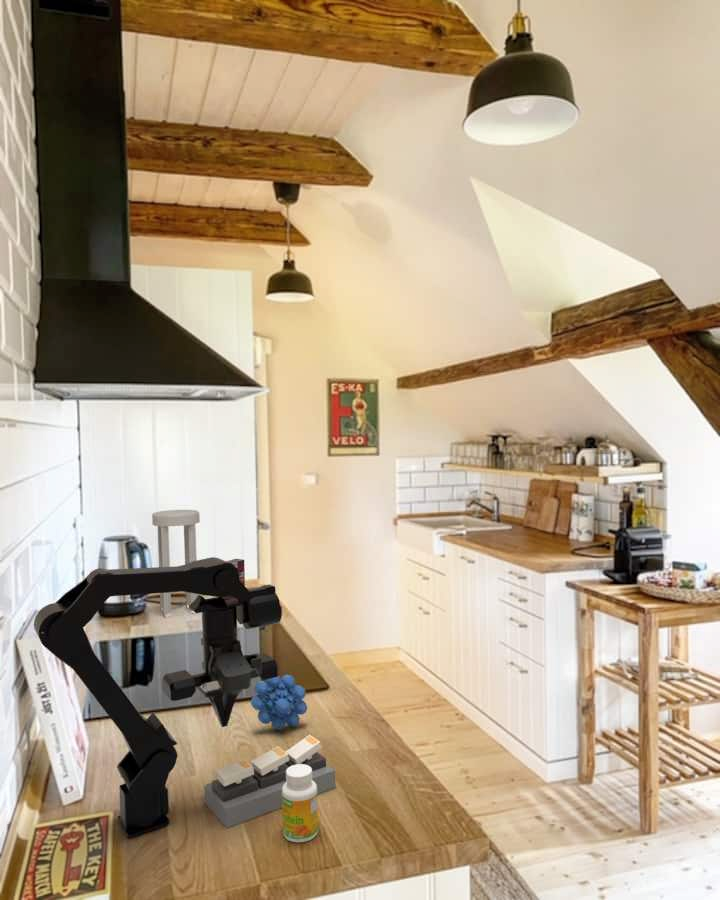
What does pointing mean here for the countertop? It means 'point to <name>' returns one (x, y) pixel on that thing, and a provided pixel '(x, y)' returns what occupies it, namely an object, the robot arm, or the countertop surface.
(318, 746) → the far rocker
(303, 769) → the supplement bottle
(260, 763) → the middle rocker
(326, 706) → the countertop surface
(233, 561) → the supplement box
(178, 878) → the countertop surface
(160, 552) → the stool
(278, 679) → the grapes
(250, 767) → the block
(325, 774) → the rocker switch strip
